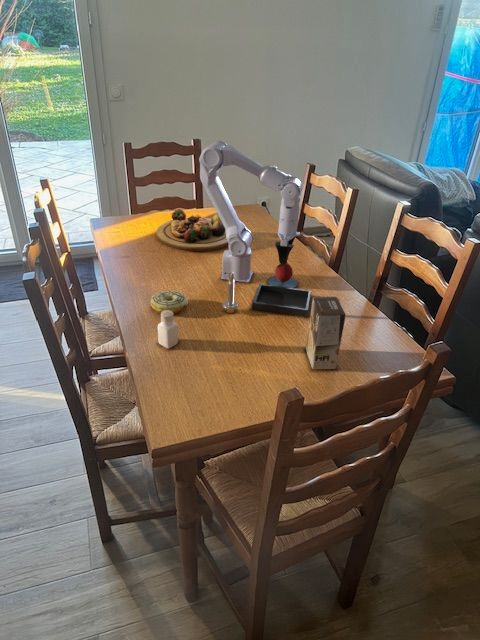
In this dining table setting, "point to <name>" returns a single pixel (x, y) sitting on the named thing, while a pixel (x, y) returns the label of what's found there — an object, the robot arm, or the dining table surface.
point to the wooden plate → (193, 232)
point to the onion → (283, 272)
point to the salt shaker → (167, 330)
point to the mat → (275, 282)
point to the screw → (230, 296)
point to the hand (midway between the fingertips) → (284, 258)
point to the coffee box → (325, 332)
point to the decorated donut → (168, 301)
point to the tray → (282, 300)
